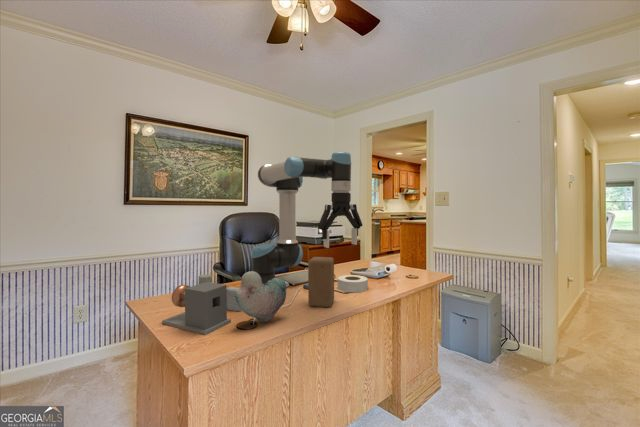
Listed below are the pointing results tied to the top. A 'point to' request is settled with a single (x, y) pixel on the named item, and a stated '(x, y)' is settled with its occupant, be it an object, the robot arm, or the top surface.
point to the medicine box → (232, 299)
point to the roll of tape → (352, 283)
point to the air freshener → (205, 278)
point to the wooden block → (321, 281)
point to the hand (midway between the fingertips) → (340, 245)
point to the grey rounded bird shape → (260, 296)
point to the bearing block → (202, 309)
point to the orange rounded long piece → (179, 296)
